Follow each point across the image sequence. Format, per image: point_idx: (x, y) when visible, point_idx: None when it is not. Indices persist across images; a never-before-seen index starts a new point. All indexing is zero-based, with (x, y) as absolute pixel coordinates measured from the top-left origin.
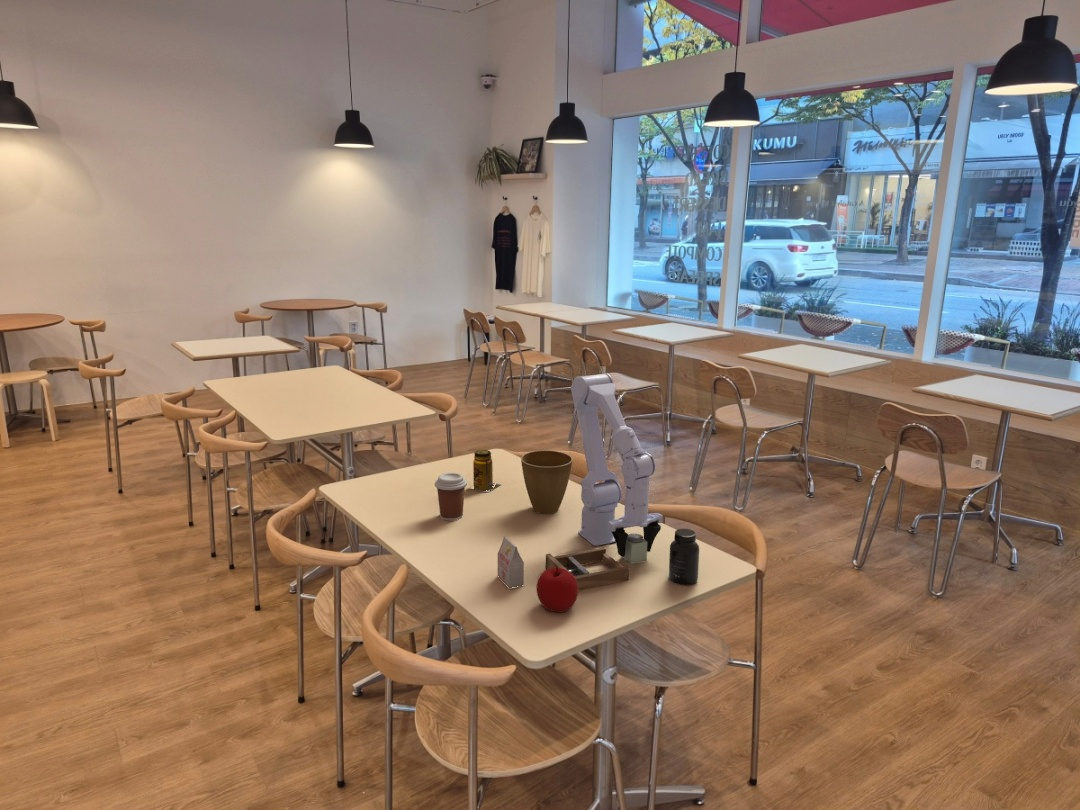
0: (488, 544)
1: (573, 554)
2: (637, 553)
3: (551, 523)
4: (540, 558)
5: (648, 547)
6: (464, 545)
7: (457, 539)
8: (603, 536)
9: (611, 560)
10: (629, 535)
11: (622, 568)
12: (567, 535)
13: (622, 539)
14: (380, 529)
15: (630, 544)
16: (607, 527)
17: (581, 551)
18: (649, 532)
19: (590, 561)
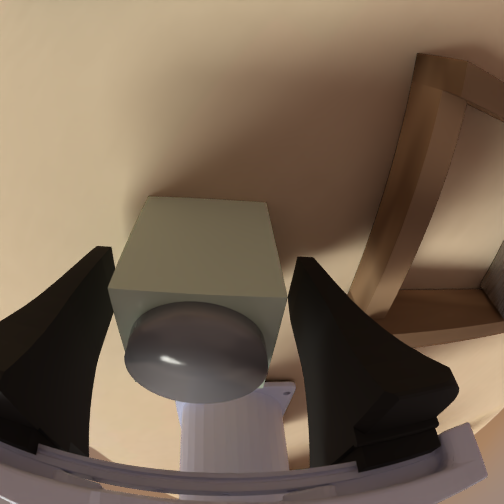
0: (459, 405)
1: (490, 327)
2: (218, 235)
3: (292, 454)
4: (469, 351)
5: (99, 267)
6: (479, 402)
7: (464, 416)
8: (251, 411)
9: (414, 240)
10: (225, 393)
11: (497, 91)
12: (307, 426)
13: (403, 352)
14: (478, 429)
15: (281, 309)
16: (238, 446)
17: (456, 341)
18: (56, 366)
19: (421, 295)
